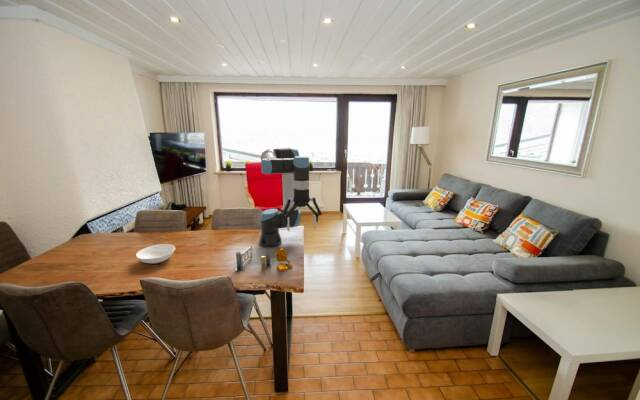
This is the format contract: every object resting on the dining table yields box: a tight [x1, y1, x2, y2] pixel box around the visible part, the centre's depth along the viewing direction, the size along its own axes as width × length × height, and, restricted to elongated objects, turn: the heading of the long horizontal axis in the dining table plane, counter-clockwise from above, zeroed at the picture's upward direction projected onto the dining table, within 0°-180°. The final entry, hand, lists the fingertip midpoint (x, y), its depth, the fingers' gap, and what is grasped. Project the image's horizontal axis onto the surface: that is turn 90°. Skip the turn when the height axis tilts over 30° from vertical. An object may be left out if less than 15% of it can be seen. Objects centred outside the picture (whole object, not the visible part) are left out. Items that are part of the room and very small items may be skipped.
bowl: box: [135, 243, 176, 264], centre depth 156 cm, size 20×20×6 cm
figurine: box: [272, 246, 293, 272], centre depth 149 cm, size 8×11×12 cm
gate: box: [240, 245, 254, 266], centre depth 154 cm, size 12×1×8 cm, turn 165°
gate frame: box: [234, 248, 271, 273], centre depth 149 cm, size 4×19×10 cm, turn 105°
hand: (301, 229), depth 134 cm, fingers open, 13 cm apart
